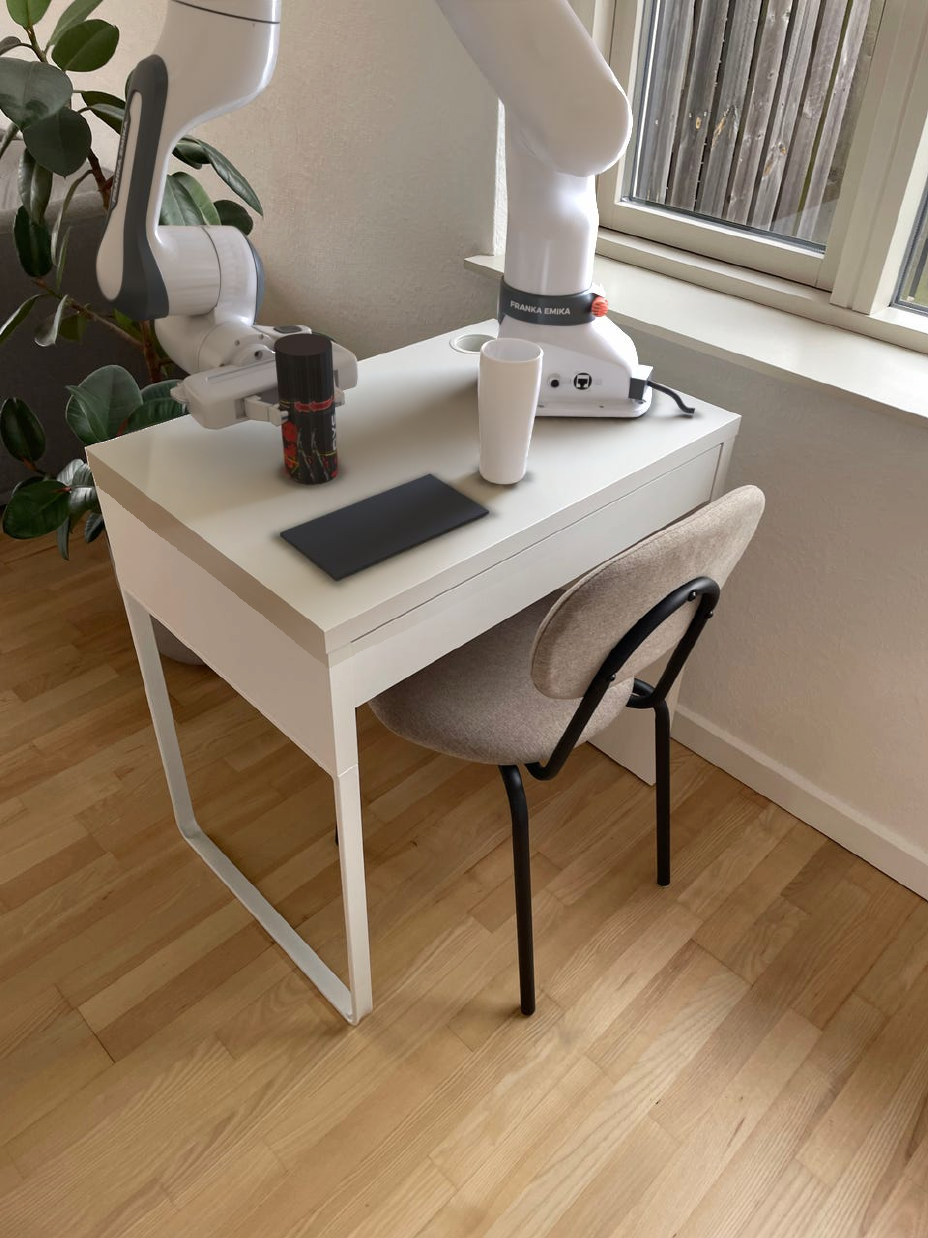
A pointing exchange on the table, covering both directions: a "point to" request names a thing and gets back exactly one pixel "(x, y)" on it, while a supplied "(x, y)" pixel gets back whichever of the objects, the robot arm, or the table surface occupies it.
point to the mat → (382, 525)
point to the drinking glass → (507, 406)
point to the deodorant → (307, 407)
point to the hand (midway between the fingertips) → (312, 409)
